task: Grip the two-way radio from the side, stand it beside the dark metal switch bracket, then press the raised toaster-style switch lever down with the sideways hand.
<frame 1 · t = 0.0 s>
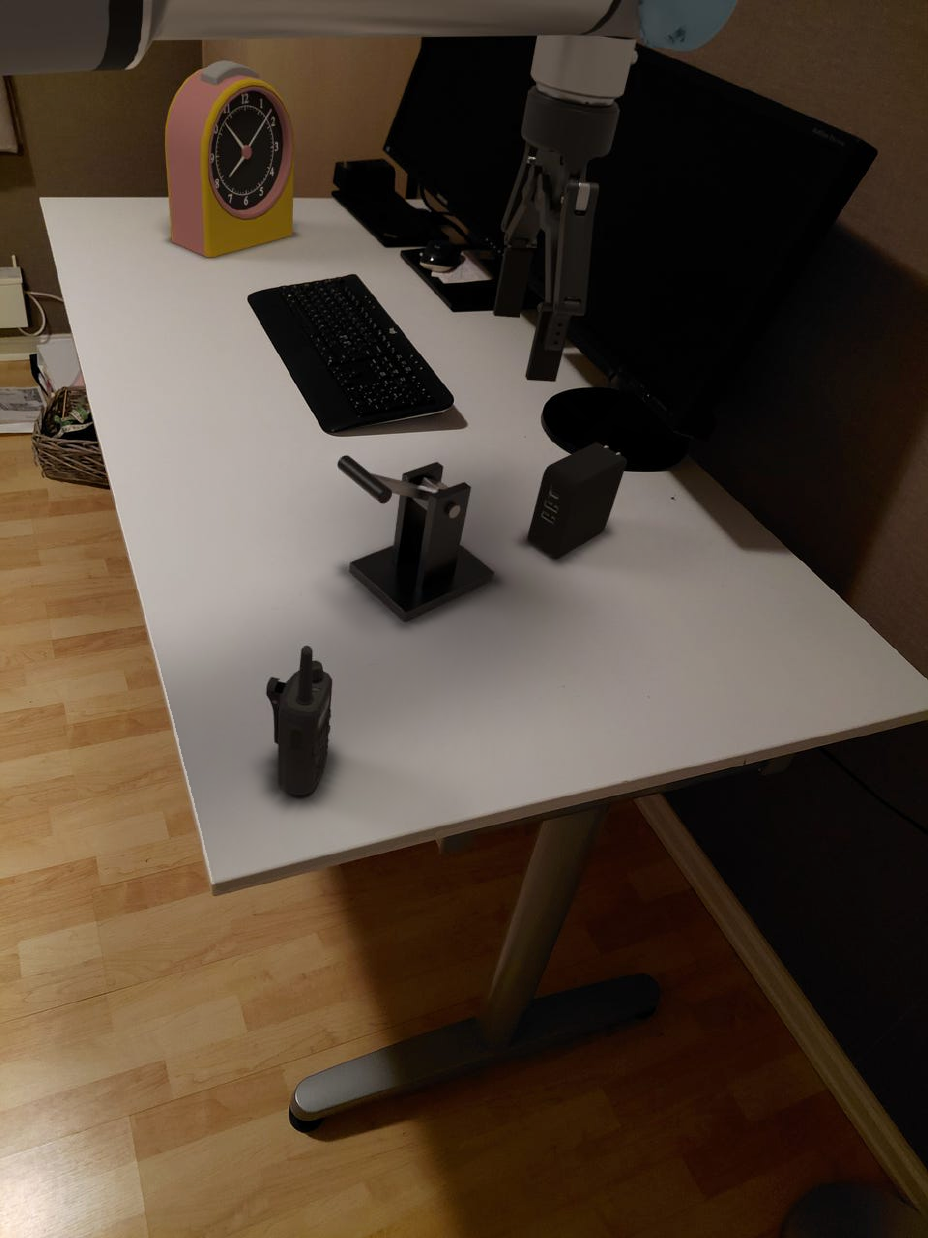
hand: (522, 345, 81), 22 cm above the table, tool pointing down, fingers open, 13 cm apart
lever: (403, 488, 77), point 12 cm above the table, hinge at 28.0°
electronic device: (565, 537, 97), on the table
alarm clock: (234, 238, 149), on the table
bracket: (421, 575, 87), on the table
two-way radio: (295, 772, 67), on the table
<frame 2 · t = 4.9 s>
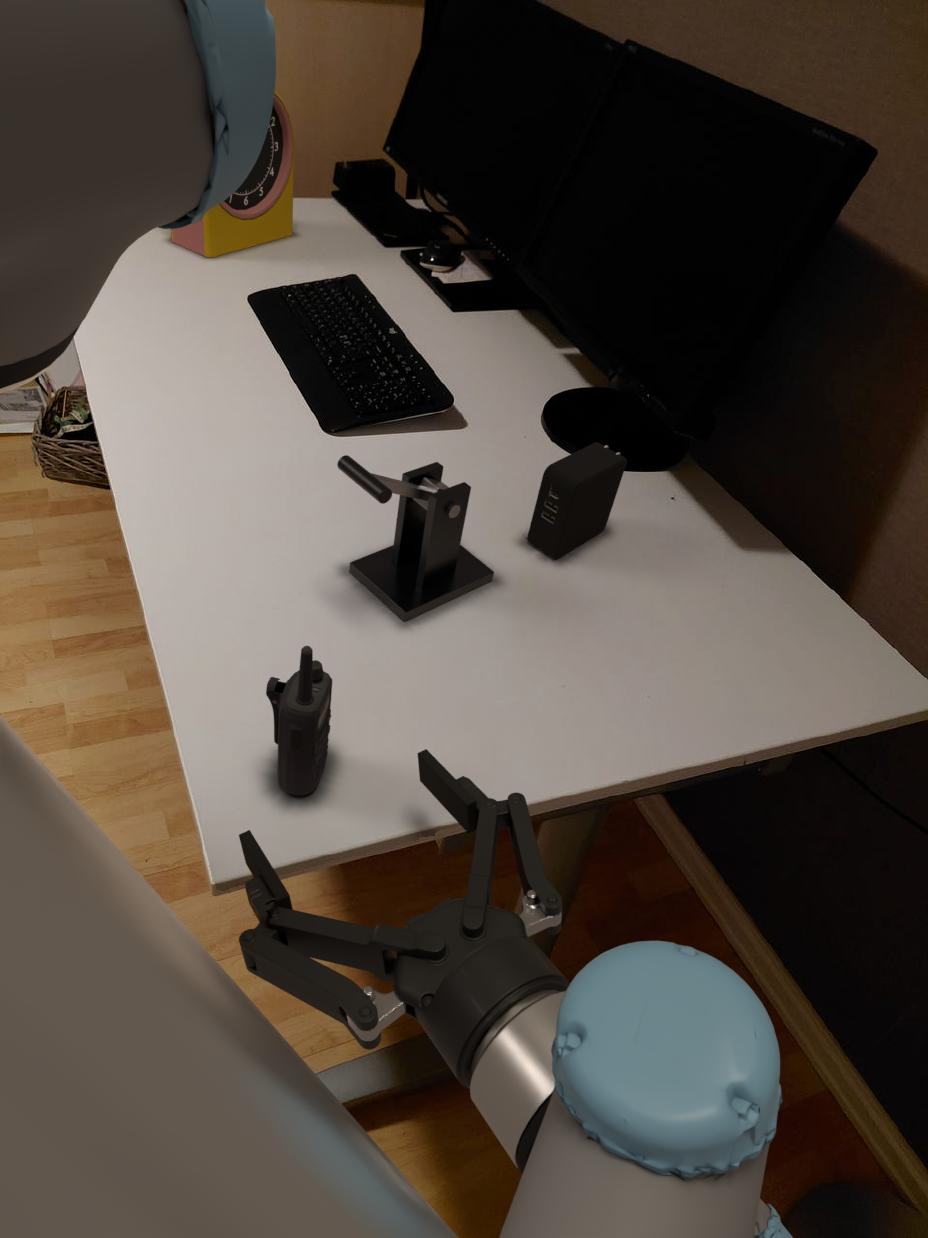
hand: (339, 803, 59), 5 cm above the table, tool horizontal, fingers open, 13 cm apart
nothing on the table moved.
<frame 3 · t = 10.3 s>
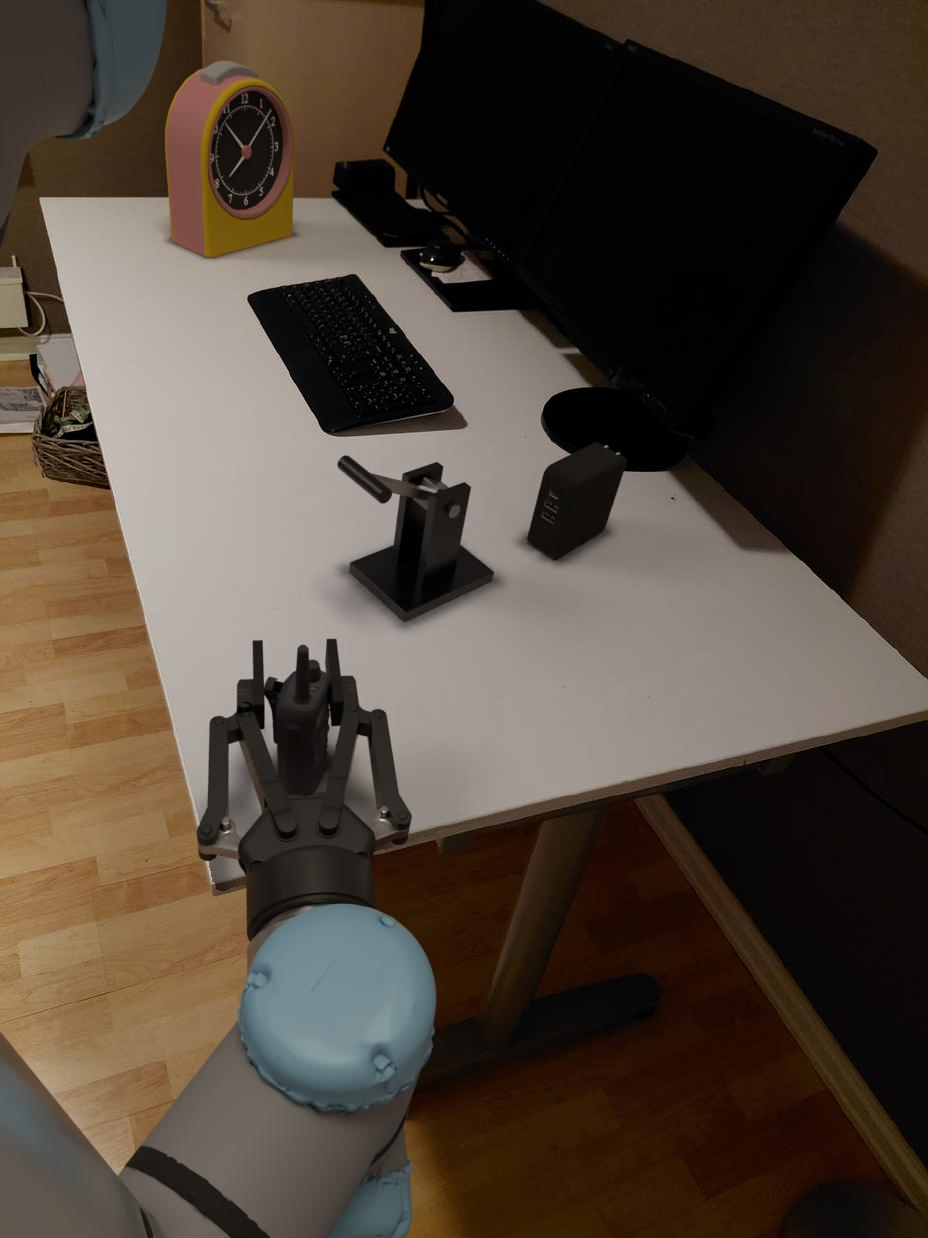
hand: (294, 652, 65), 8 cm above the table, tool horizontal, fingers closed on two-way radio, 5 cm apart
two-way radio: (295, 772, 67), on the table, touching gripper
everything else where it was.
when the fingers open (8 cm above the table, at t = 19.2 s): two-way radio stays where it is, on the table.
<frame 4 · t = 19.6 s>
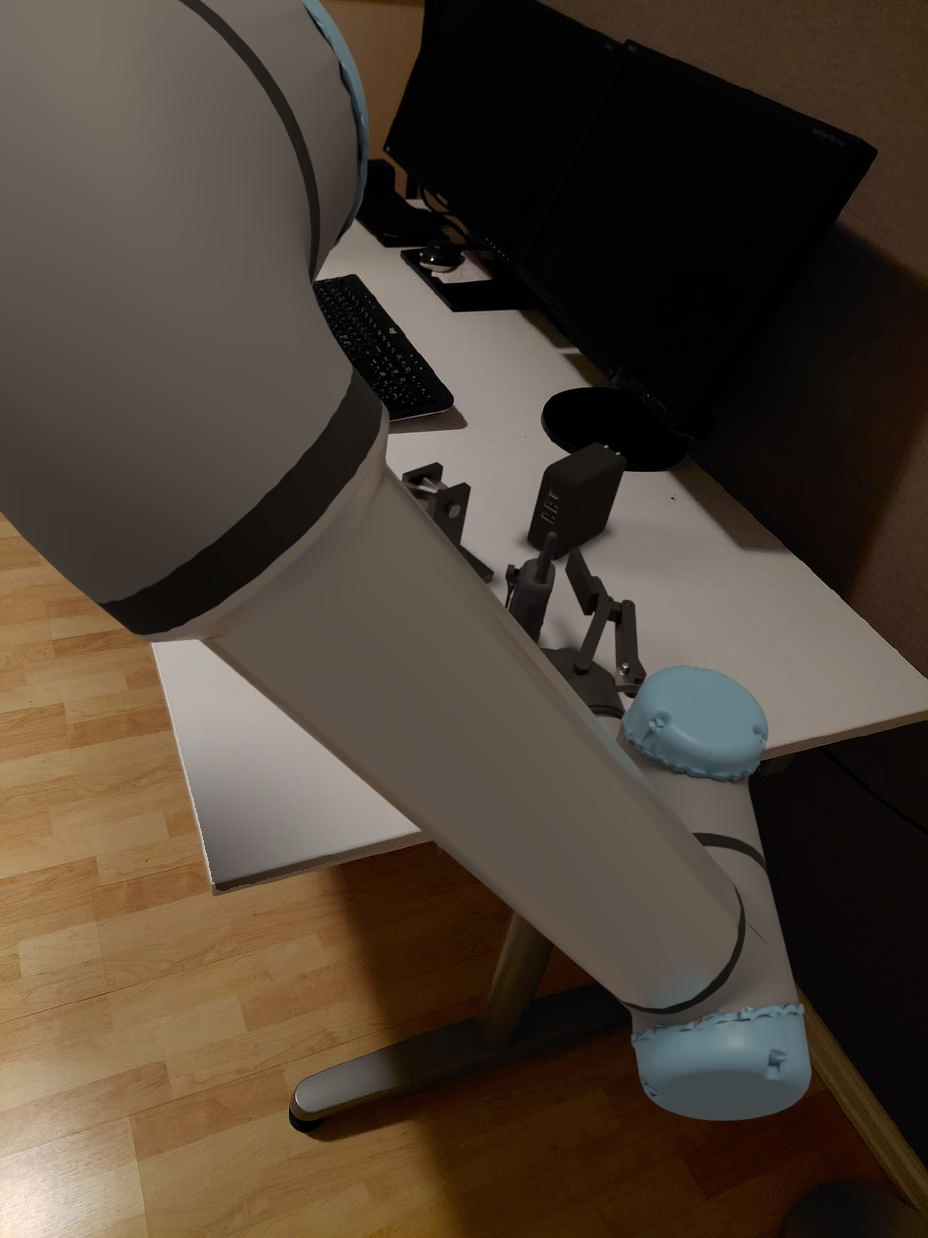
hand: (516, 558, 79), 8 cm above the table, tool horizontal, fingers open, 10 cm apart
two-way radio: (510, 650, 81), on the table
everything else where it was.
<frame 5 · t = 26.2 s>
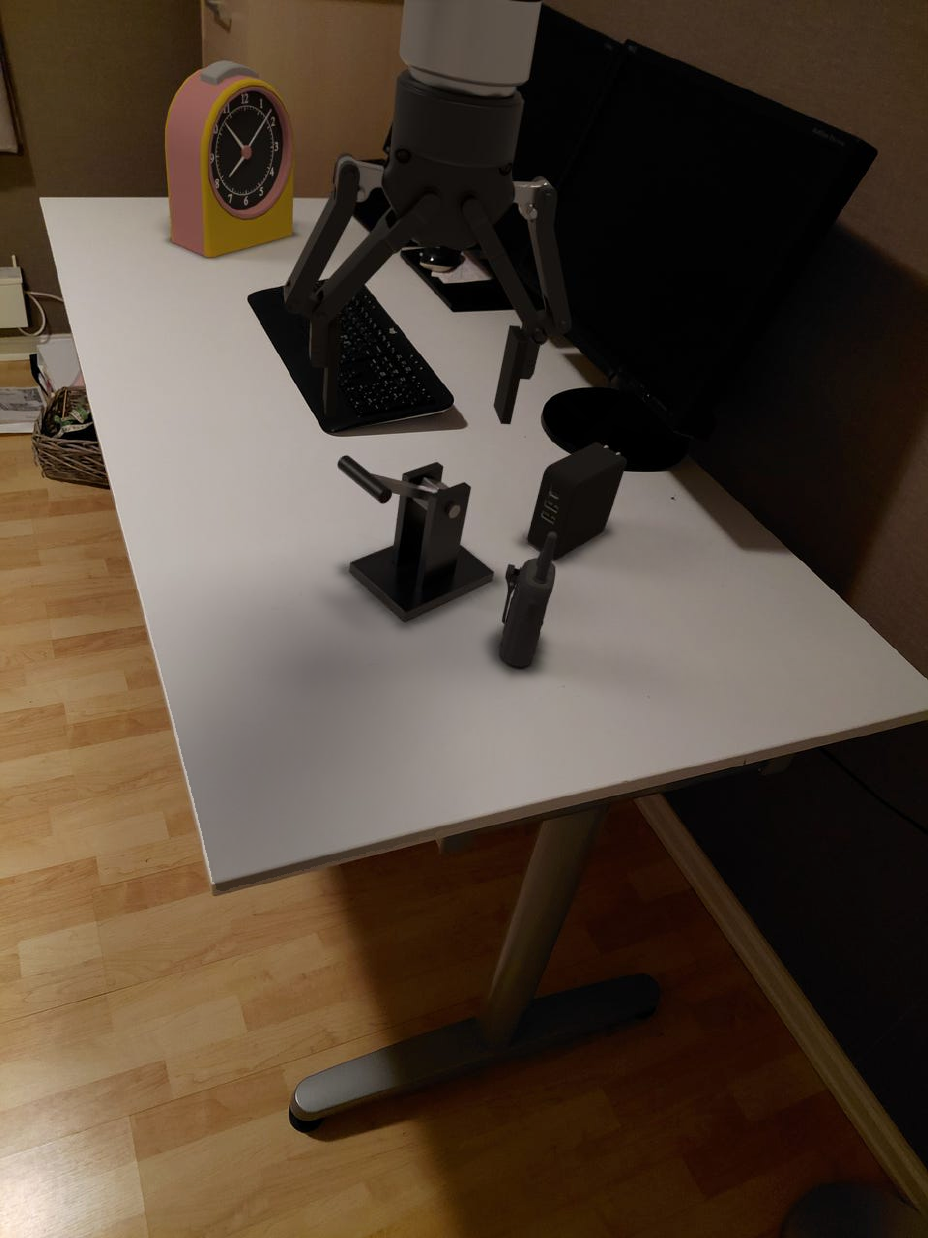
hand: (417, 411, 63), 24 cm above the table, tool pointing down, fingers open, 12 cm apart
nothing on the table moved.
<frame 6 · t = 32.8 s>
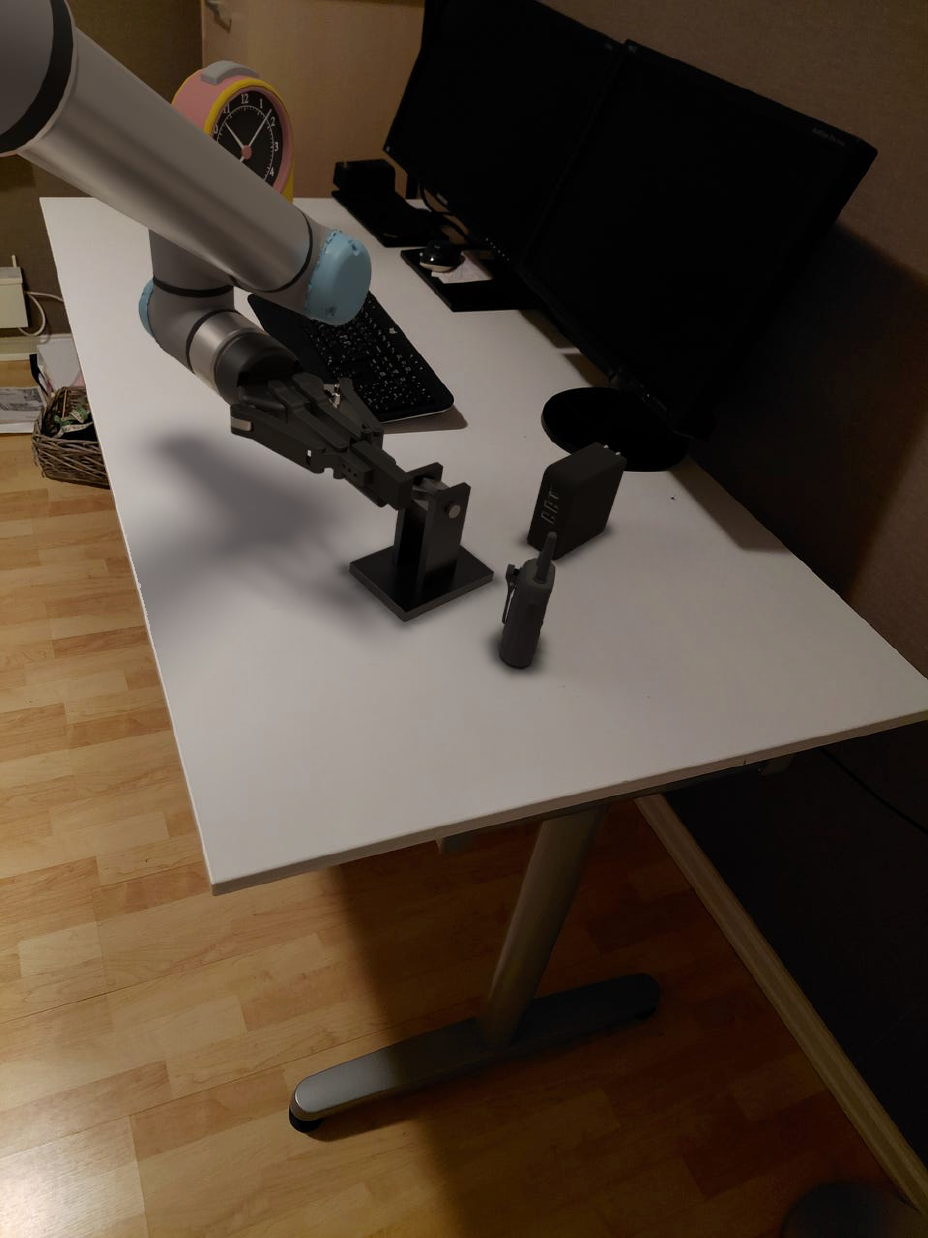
hand: (404, 494, 69), 17 cm above the table, tool horizontal, fingers closed
lever: (402, 490, 77), point 12 cm above the table, hinge at 25.8°, touching gripper
everything else where it was.
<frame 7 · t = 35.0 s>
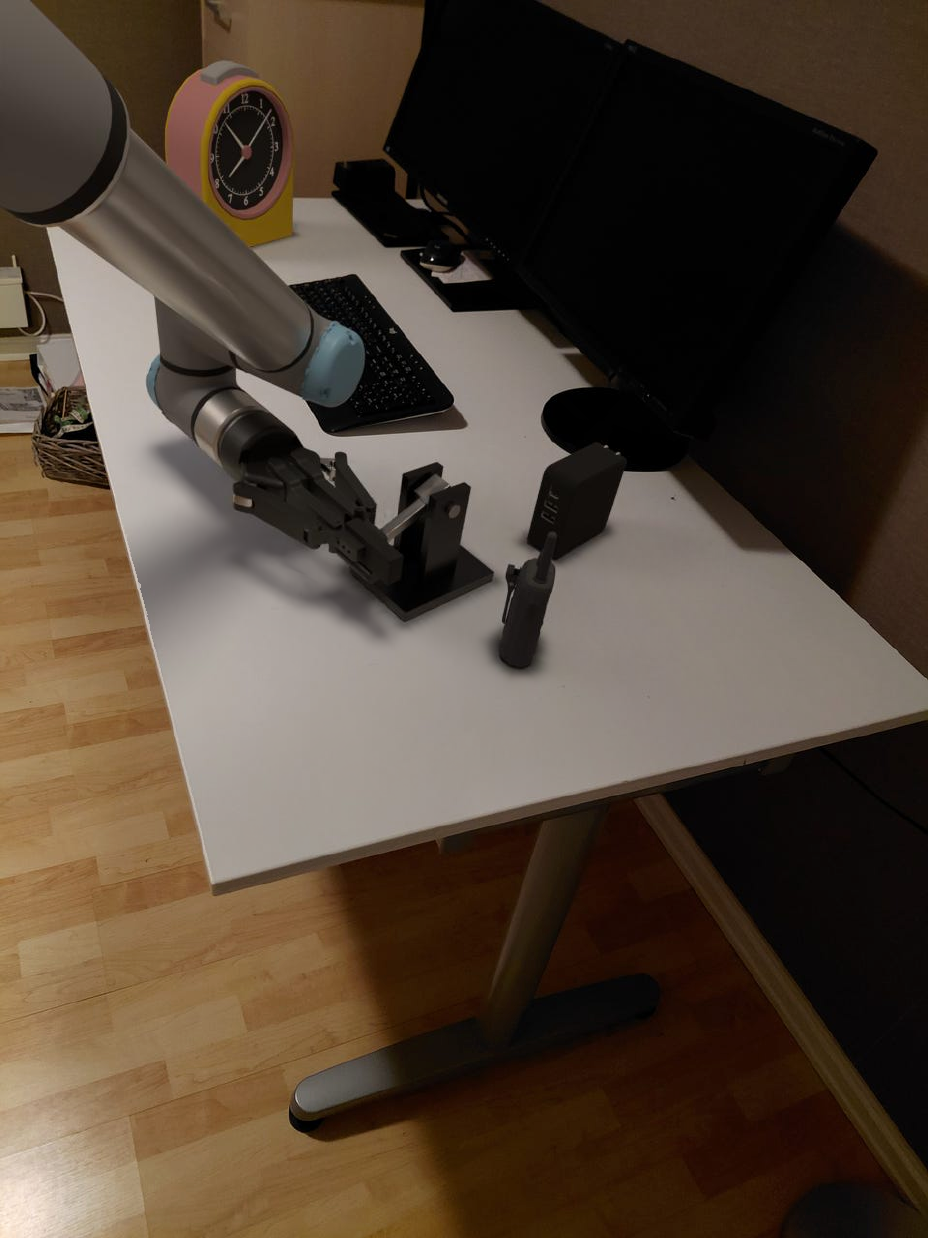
hand: (395, 570, 74), 9 cm above the table, tool horizontal, fingers closed
lever: (397, 525, 80), point 8 cm above the table, hinge at -24.0°, touching gripper
everything else where it was.
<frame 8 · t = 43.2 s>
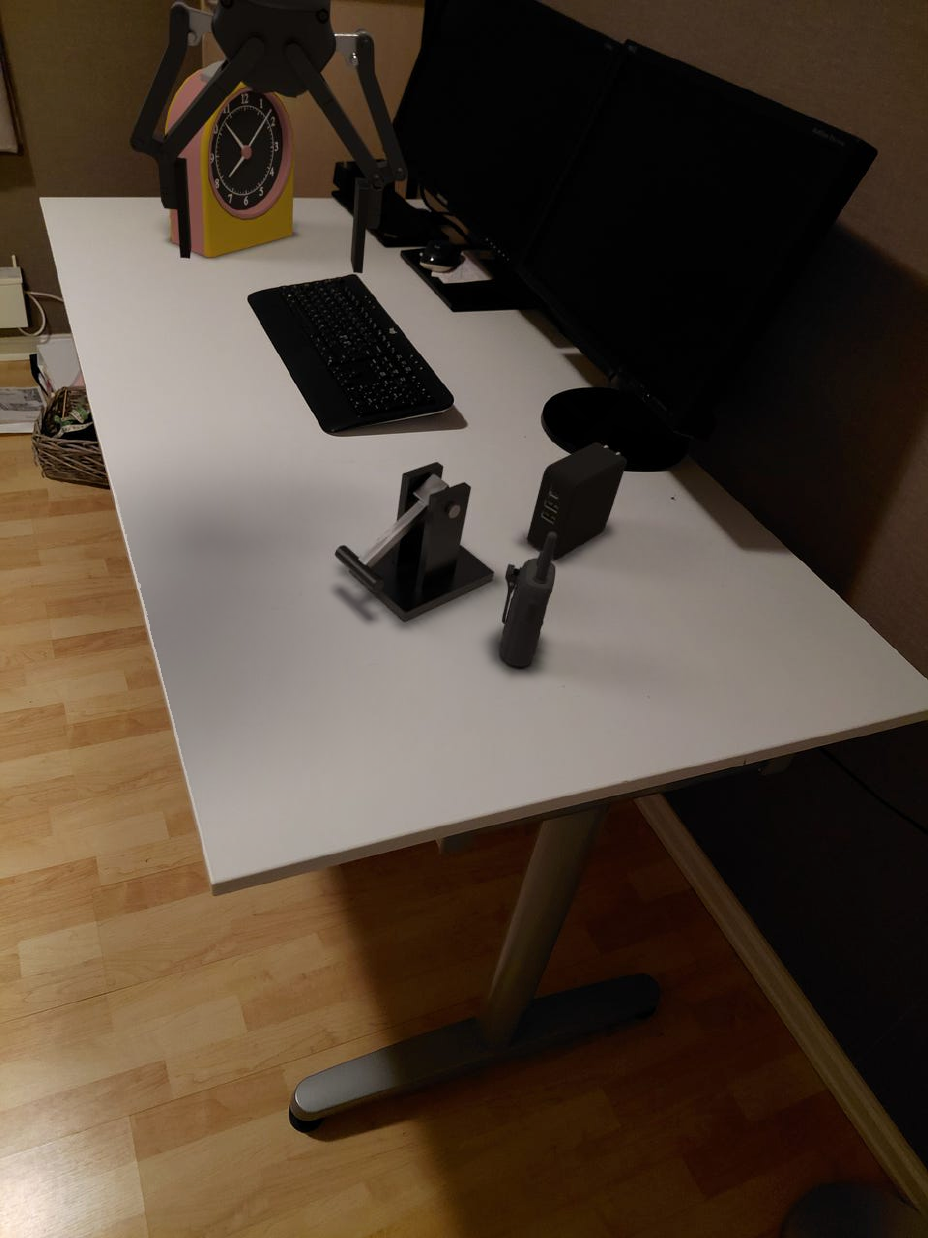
hand: (273, 259, 69), 29 cm above the table, tool pointing down, fingers open, 13 cm apart
lever: (399, 529, 80), point 7 cm above the table, hinge at -32.6°
everything else where it was.
at the end: lever at -33° (first picture: +28°); two-way radio inside the target area on the table beside the bracket (0.0 cm from its centre), on the table; two-way radio tilted 0° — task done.
